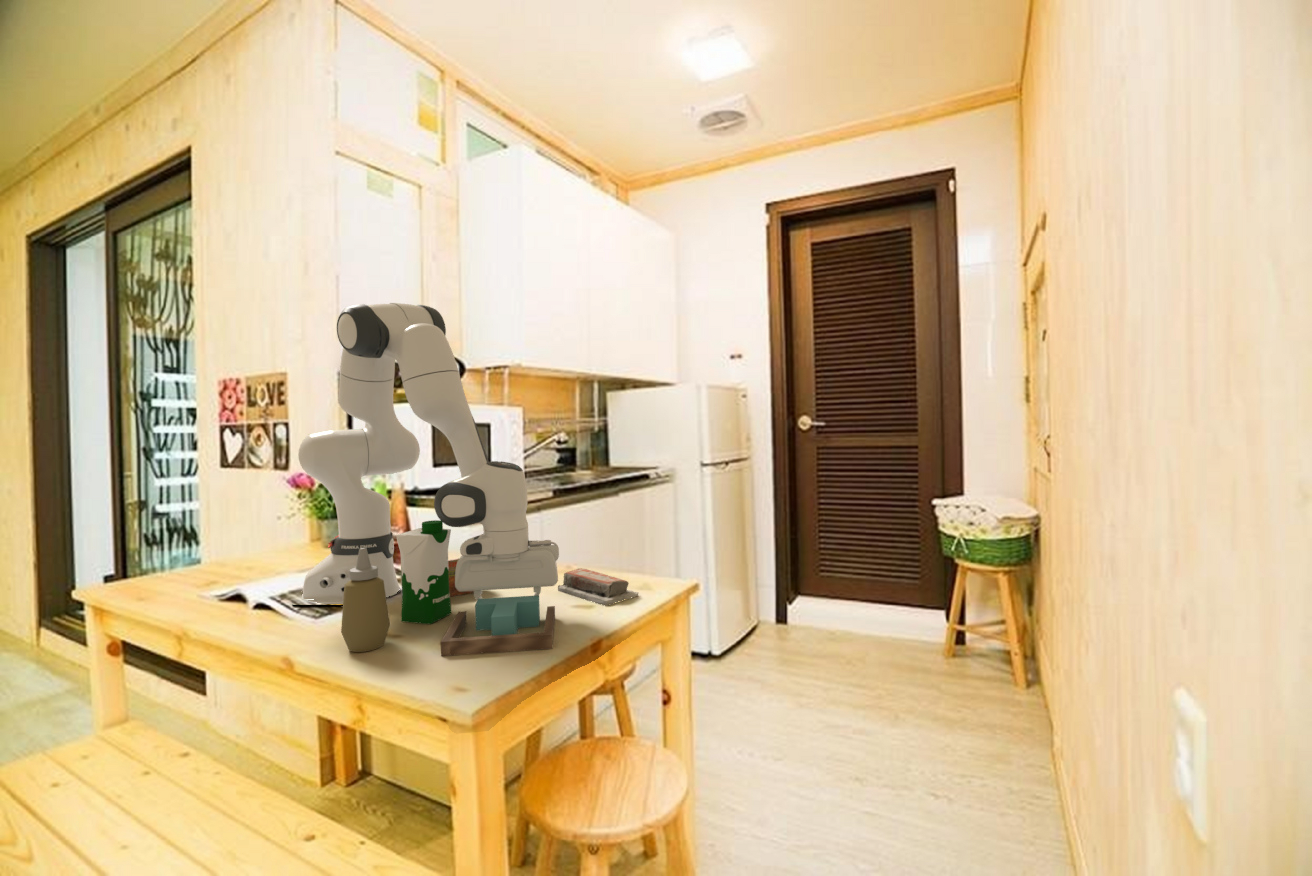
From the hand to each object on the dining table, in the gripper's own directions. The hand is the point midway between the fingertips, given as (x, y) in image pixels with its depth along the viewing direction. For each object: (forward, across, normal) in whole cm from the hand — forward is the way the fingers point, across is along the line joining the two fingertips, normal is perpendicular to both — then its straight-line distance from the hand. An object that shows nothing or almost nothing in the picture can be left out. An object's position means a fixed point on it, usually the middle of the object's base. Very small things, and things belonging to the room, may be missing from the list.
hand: (508, 609), depth 124 cm
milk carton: (+2, +17, -5) cm, 18 cm away
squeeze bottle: (+2, +24, +10) cm, 26 cm away
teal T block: (+2, 0, +7) cm, 7 cm away
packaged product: (+3, -18, -15) cm, 24 cm away
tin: (+2, +15, -21) cm, 26 cm away
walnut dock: (+2, 0, +8) cm, 8 cm away
